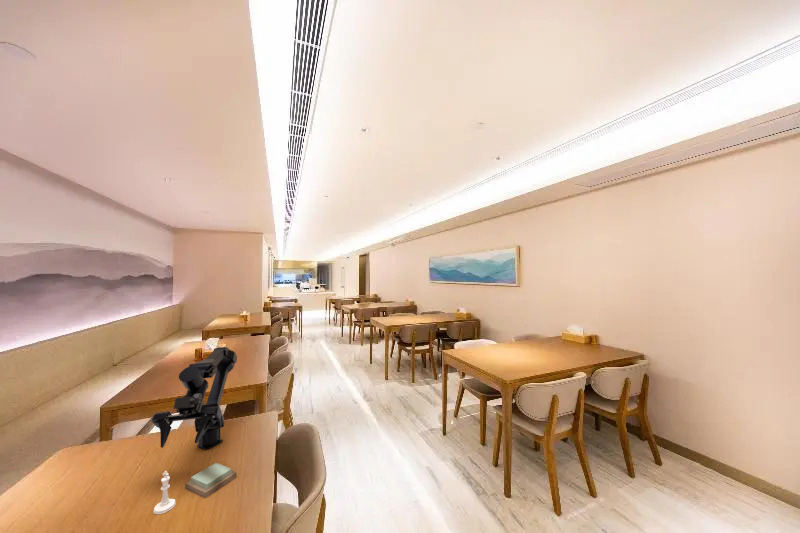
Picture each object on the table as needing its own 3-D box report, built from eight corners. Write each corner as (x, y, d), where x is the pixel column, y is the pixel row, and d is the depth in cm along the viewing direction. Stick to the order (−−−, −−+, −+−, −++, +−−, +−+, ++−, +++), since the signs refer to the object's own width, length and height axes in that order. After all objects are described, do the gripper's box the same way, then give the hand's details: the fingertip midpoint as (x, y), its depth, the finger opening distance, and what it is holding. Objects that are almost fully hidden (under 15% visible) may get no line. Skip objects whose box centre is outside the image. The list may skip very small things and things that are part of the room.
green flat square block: (216, 469, 100) (217, 460, 100) (236, 477, 96) (236, 467, 96) (185, 488, 91) (185, 478, 91) (205, 497, 86) (205, 487, 87)
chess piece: (163, 515, 80) (164, 478, 81) (148, 512, 81) (149, 475, 82) (180, 502, 85) (180, 466, 85) (166, 499, 86) (167, 465, 86)
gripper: (155, 387, 95) (132, 440, 84) (219, 382, 99) (205, 431, 88) (167, 402, 102) (147, 453, 91) (226, 396, 107) (214, 444, 95)
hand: (178, 445), depth 91 cm, fingers open, 9 cm apart
